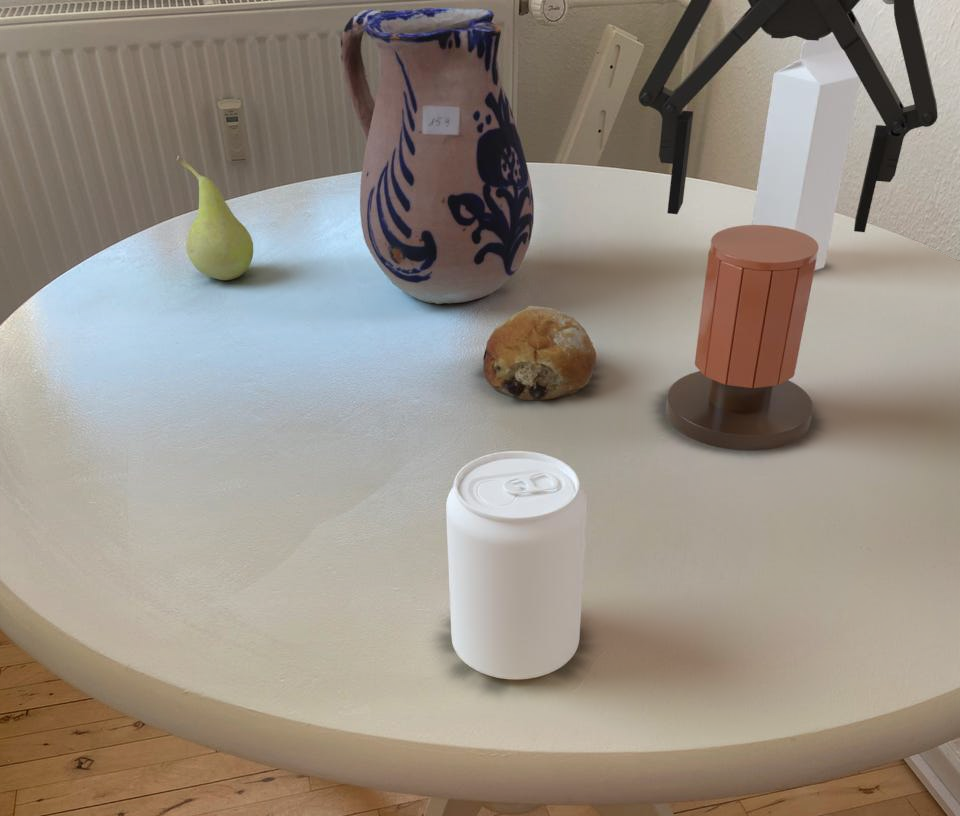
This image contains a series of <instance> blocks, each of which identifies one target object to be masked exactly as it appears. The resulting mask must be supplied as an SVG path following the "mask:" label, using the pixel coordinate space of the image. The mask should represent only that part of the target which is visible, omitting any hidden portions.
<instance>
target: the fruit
mask: <svg viewBox="0 0 960 816" xmlns="http://www.w3.org/2000/svg"><path fill="white" fill-rule="evenodd" d="M176 162H177V163H179V164H180V165H182V166H183V167H184V168H185V169H187V170H189V171H190V172H191V173H192V174H193V176H195V177H196V179H197V181H198V212H197V215H196V217H195V219H194V221H193V222H192V224H191V225H190V227H189V229H188V231H187V235H186V239H185V240H186V242H185V243H186V244H185V248H186V254H187V256H188V258H189V260H190V262H191V264H192V265H193V266H194V267H195V269H196V270H197V271H198V272H200V273H201V274H203V275H205V276H207V277H209V278H212V279H216V280H219V281H231V280H235V279H237V278H239V277H241V276H242V275H244V274H245V272H246V271H248V269H249V268H250V265H251V263H252V260H253V257H254V242H253V239H252V236H251V234H250V232H249V231H248V229H247V228H246V227H245V226H244V224H243V223H241V222H240V220H239V219H238V218H237V217H236V215H234V213H233V212H232V210H231V209H230V207H229V205H228V203H227V201H226V200H225V198H224V197H223V194H222V193H221V191H220V190H219V188H218V187H217V185H216V184H215V182H213V180H211V179H210V178H208V177H206V176H204V175H201V174H200V173H199V172H197V170H196V169H194V168H193V167H192V166H191V165H190V164H189V163H188V162H187V161H186V160H185V159H183V157H182V156H180V155H177V158H176Z"/></svg>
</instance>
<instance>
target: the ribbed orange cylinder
mask: <svg viewBox="0 0 960 816" xmlns="http://www.w3.org/2000/svg"><path fill="white" fill-rule="evenodd" d="M818 249H819V246H818V243H817V242H816V241H815V240H814V239H813V238H812V237H810V236H808V235H806V234H804V233H802V232H799V231H796V230H793V229H789V228H784V227H778V226H770V225H752V224H746V225H744V224H743V225H737V226H731V227H728V228H727V227H726V228H724V229H722V230H719V231H718V232H716V233H715V234H713V235H712V237H711V239H710V246H709V250H708V253H707V263H706V270H705V280H704V286H703V295H702V302H701V311H700V319H699V325H698V335H697V341H696V350H695V357H694V358H695V359H694V366H695V367H696V369H698V371H700V372H701V373H702V374H703V375H704V376H705V377H707V378H710V379H712V380H714V381H717V382H719V383H722V384H724V385H726V384H727V385H729V386H737V387H746V388H752V387H753V388H760V387H768V386H776V385H780V384H782V383H783V382H785V381H787V380H789V381H790V380H791V379H793V377H794V376H795V374H796V370H797V369H796V368H797V364H798V358H799V353H800V347H801V342H802V337H803V333H804V327H805V321H806V316H807V310H808V306H809V301H810V295H811V290H812V286H813V280H814V275H815V271H816V270H815V265H816V260H817V254H818Z"/></svg>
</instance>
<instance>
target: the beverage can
mask: <svg viewBox="0 0 960 816" xmlns="http://www.w3.org/2000/svg"><path fill="white" fill-rule="evenodd" d="M448 493H449V494H447V495H448V496H447V499H446V503H445V505H446V506H445V515H446V539H447V563H448V565H447V566H448V584H449V585H448V586H449V607H450V608H449V609H450V611H449V612H450V633H451V644H452V647H453V649H454V652H455V653H456V654H457V656H458V657H459V658H460V659H461V661H462V662H464V663H465V664H466V665H467V666H468V667H470V668H471V669H473V670H474V671H477V672H478V673H481V674H484V675H485V676H490V677H493V678H498V679H502V680H504V679H505V680H528V679H534V678H539V677H542V676H545V675H548V674H551V673H552V672H553V673H554V672H555V671H557V670H559V669H561V668H562V667H563V666H565V665H566V664H567V663H568V662H569V661H570V660H571V659H572V658H573V657H574V655H575V654H576V652H577V650H578V648H579V644H580V638H581V637H580V636H581V635H580V634H581V620H582V619H581V618H582V604H583V602H582V601H583V584H584V571H585V570H584V569H585V551H586V535H587V519H588V501H587V497H586V495H585V492H584V490H583V488H582V487H581V483H580V478H579V476H578V475H577V473H576V471H575V470H574V469H573V468H572V467H571V466H570V465H568V464H567V463H566V462H564V461H562V460H561V459H559V458H555V457H554V456H551V455H548V454H544V453H540V452H535V451H526V450H525V451H524V450H509V451H500V452H494V453H490V454H486V455H483V456H480V457H477V458H475V459H472V460H471V461H469V462H468V463H466V464H465V465H464V466H463V467H461V469H459V471H458V472H457V474H456V476H455V478H454V481H453V485H452V487H451V489H450V491H449V492H448Z"/></svg>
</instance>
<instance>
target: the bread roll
mask: <svg viewBox="0 0 960 816" xmlns="http://www.w3.org/2000/svg"><path fill="white" fill-rule="evenodd" d="M596 362H597V352H596V349H595V347H594V343H593V342H592V340H591V338H590V336H589V334H588V333H587V331H586V329H585V328H584V327H583V325H582V324H581V323H579V321H577V320H576V319H575V318H574V317H573V316H571V315H570V314H568V313H567V312H564V311H562V310H560V309H558V308H557V309H556V308H553V307H546V306H538V305H528V306H527V307H525V308H524V309H523V310H519V311H518V312H516V313H514V314H512V315H511V316H509V317H508V318H507V319H506V320H504V322H503V323H502V324H500V325H498V326H497V327H495V328H494V330H493V331H492V332H491V335H490V336H489V338H488V340H487V341H486V346H485V350H484V354H483V374H484V377H485V379H486V382H487V383H488V384H489V385H490V386H491V388H493V390H495V391H496V392H498V393H501V394H504V395H506V396H509V397H510V398H513V399H518V400H521V401H541V400H542V401H543V400H544V401H545V400H554V399H558V398H561V397H566V396H571V395H574V394H577V393H578V392H579V390H581V389H583V388H585V387H586V386H587V385H588V384H589V383H590V380H591V379H592V376H593V373H594V369H595V366H596Z"/></svg>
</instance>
